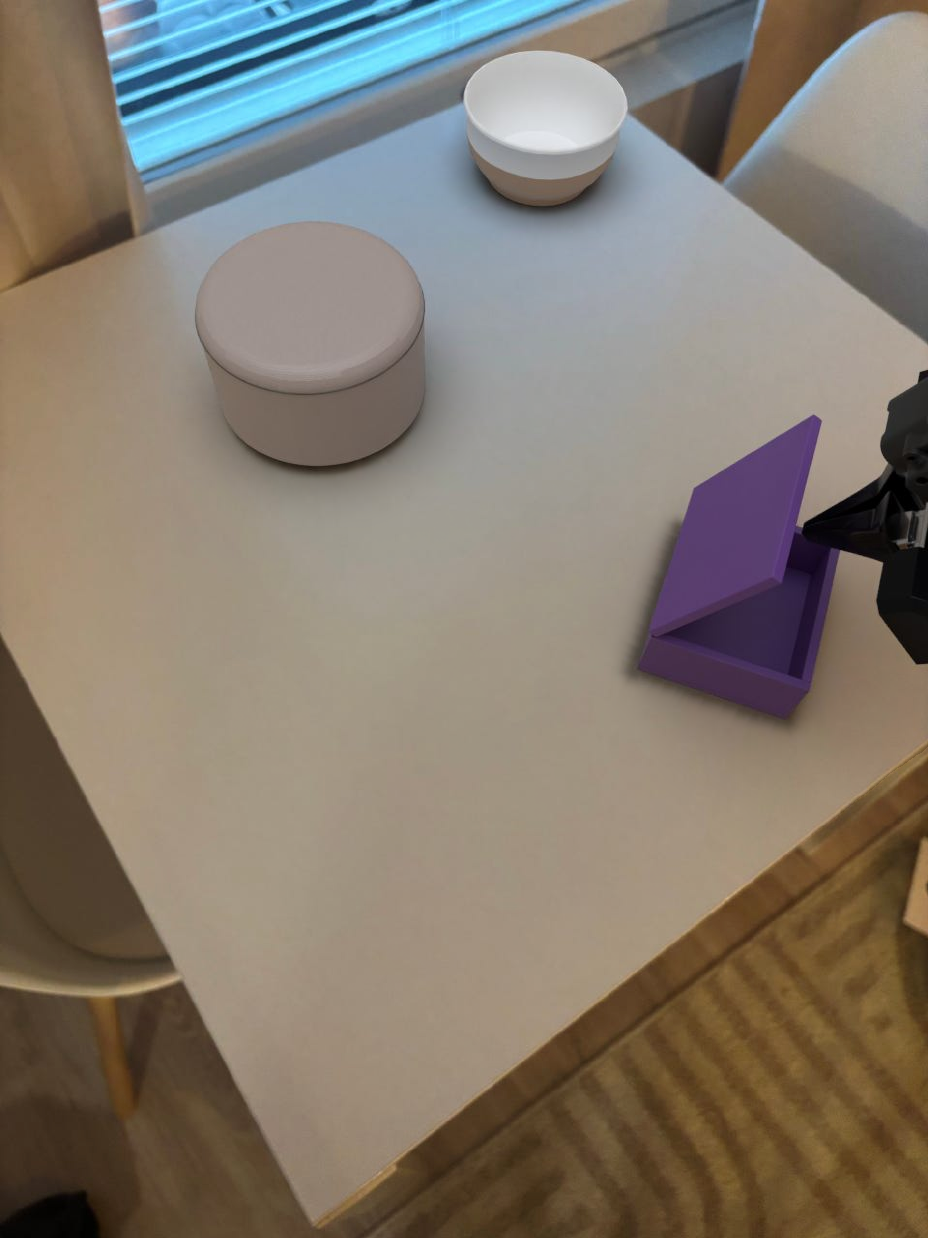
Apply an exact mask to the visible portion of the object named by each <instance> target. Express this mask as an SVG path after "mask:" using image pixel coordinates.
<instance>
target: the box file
mask: <svg viewBox="0 0 928 1238" xmlns="http://www.w3.org/2000/svg"><path fill="white" fill-rule="evenodd" d="M802 529H803V526H799V525H796V528H795V532H794V536H793V540H792V544H791V548H790V552H789V556H788V560H787V564H786V568H785V572H784V576H783V580H782V583H781V584H779V585H777V586H774V587H772V588H770V589H767V590H765V591H763V592H760V593H758V594H756V595H753V596H751V597H749V598H746V599H744V600H742V601H739V602H737V603H735V604H732V605H730V606H728V607H725V608H723V609H721V610H718V611H716V612H714V613H711V614H709V615H707V616H704V617H702V618H700V619H697V620H695V621H693V622H690V623H688V624H686V625H683V626H681V627H679V628H676V629H674V630H672V631H669V632H667V633H665V634H662V635H660V636H658V637H655V636H654V635H652V634H651V633H649V632H648V631H647V632H648V633H647V636H646V639H645V642H644V645H643V648H642V652H641V655H640V658H639V661H638V664H637V667H636V669H637V670H639V671H643V672H645V673H649V674H651V675H654V676H657V677H660V678H663V679H665V680H668V681H672V682H674V683H677V684H680V685H683V686H687V687H689V688H692V689H695V690H697V691H701V692H704V693H706V694H709V695H712V696H716V697H718V698H721V699H724V700H728V701H730V702H733V703H736V704H738V705H742V706H744V707H748V708H750V709H754V710H757V711H760V712H762V713H765V714H769V715H771V716H774V717H777V718H780V719H783V720H786V719H787V718H788V716H789V715H790V714H791V713H792V712H793V711H794V710H795V709H796V707H797V706H798V705H799V704H800V703H801V701H802V700H804V698H805V697H806V696H807V694H808V693H809V692H811V691H810V690H811V686H812V681H813V677H814V672H815V668H816V665H817V664H816V663H817V659H818V654H819V650H820V645H821V640H822V635H823V633H824V628H825V622H826V618H827V612H828V608H829V604H830V599H831V595H832V591H833V585H834V581H835V576H836V573H837V567H838V563H839V558H840V553H841V550H838V549H834V548H830V547H826V546H823V545H819V544H815V543H811V542H809V541H807V540H806V539H805V537H804V536H803V535H802Z"/></svg>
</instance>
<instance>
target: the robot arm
mask: <svg viewBox="0 0 928 1238" xmlns="http://www.w3.org/2000/svg"><path fill="white" fill-rule="evenodd" d="M917 378H918V379H917V383H915V384H914V385H912V386H911V387H909V388H908V389H905V390H904V391H903V392H901V393H900V394H898V395H896V396H893V398H891V399H890V400H889V401H888V404H887V408H886V411H887V412H888V415H887V420H886V424H885V429H884V432H883V434H882V435H881V436H880V442H879V448H880V449H879V450H880V452H881V456H882V457H883V459H884V460H885V462H887V464H886V466H885V468H884V470H883V471H882V473H881V474H880V475H879V476H878V477H876V478H875V479H874V480H873V481H871V482H870V483H868V484H867V485H865V486H863V487H862V488H861V489H859V490H857V491H856V492H854V493H852V494H851V495H849V496H847V497H846V498H844V499H842V500H841V501H839V502H837V503H835V504H834V505H832V506H830V507H828V508H827V509H825V510H823V511H821V512H820V513H818V514H817V515H815V516H813V517H811V518H809V519H807V520H806V521H805V522H804V523H803V525H802V527H803V529H802V535H803V536H804V537H805V539H806V540H807V541H809V542H811V543H815V544H819V545H823V546H826V547H830V548H834V549H838V550H840V552H846V553H849V554H853V555H857V556H860V557H864V558H868V559H871V560H874V561H877V562H880V563H881V564H882V567H881V572H880V578H879V582H878V588H877V593H876V598H875V603H876V607H877V608H876V609H877V612H878V616H879V617H880V618H881V621H883V623H884V624H885V626H886V627H887V628H888V629H889V630H890V632H891V634H892V635H893V636H894V637H895V638H896V640H897V642H898V643H899V644H900V645H901V646H902V648H903V649H904V650H905V652H906V653H907V655H908V656H909V658H910V659H911V660H912V661H913V663H914V664H915V665H916V666H919V665H920V666H921V665H928V369H924V370H922V371H921V370H920V371H919V373H918V377H917Z"/></svg>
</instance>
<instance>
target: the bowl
mask: <svg viewBox="0 0 928 1238" xmlns="http://www.w3.org/2000/svg"><path fill="white" fill-rule="evenodd" d="M463 91H464V92H463V98H462V99H463V108H464V110H465V113H466V127H465V132H466V137H467V144H468V147H469V151H470V154H471V156H472V158H473V160H474V162H475V163H476V166H477V167H478V168H479V171H480V172H481V173H482V174H483V175H484V176H485V177H486V178H487V179H488V181H489V183H490V185H491V186H492V188H493V189H495V191H496V192H497V193H499V194H500V195H502V196H503V197H504V198H506V199H508V200H510V201H512V202H515V203H519V204H522V205H526V206H532V207H551V206H557V205H561V204H562V205H563V204H565V203H567V202H570V201H572V200H574V199H575V198H577V197H579V195H581V194H582V192H584V191H585V190H586V188H587V187H589V186H590V185H592V184H594V182H595V181H597V180H598V178H600V176H601V175H602V174H603V173H604V171H605V170H606V169H607V168H608V167H609V165H610V163H611V161H612V160H613V157H614V154H615V151H616V149H617V147H618V143H619V139H620V131H621V128H622V127H623V125H624V124H625V122H626V120H627V115H628V112H629V111H628V110H629V107H628V105H629V104H628V98H627V96H626V93H625V90H624V89H623V86H622V85H621V84H620V82H619V81H618V80H617V78H616V77H615V76H613V75H612V74H611V73H610V72H609V71H607V70H606V69H605V68H603V67H602V66H600V65H598V64H597V63H595V62H593V61H591V60H589V59H585V58H583V57H581V56H577V55H574V54H571V53H565V52H559V51H554V50H527V51H519V52H513V53H509V54H506V55H502V56H500V57H497V58H494V59H493V60H491V61H489V62H487V63H485V64H484V65H482V66H481V67H480V68H478V70H476V71H475V72H474V73H473V74H472V76H471V77H470V78H469V80H468V81H467V83H466V86H465V88H464V90H463Z"/></svg>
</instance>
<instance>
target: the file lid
mask: <svg viewBox="0 0 928 1238" xmlns="http://www.w3.org/2000/svg"><path fill="white" fill-rule="evenodd" d="M822 423H823V420H822V419H821V418H820V417H819V416H817V415H816V414H812V415H810V416H809V417H807V418H805V419H804V420H801V422H798V423H797V424H795V425H794V426H792V427H790V428H788V429H787V430H785V431H784V432H782V433H781V434H779V435H777V436H776V437H774V438H773V439H770V441H767V442H766V443H764V444H763V445H762V446H759V447H758V448H756V449H755V450H753V451H751V452H750V453H748V454H747V455H745V456H744V457H742V458H740V459H738V460H737V461H735V462H734V463H732V464H730V465H728V466H727V467H725V468H724V469H722V470H720V471H719V472H718V473H716V474H714V475H712V476H711V477H709V478H708V479H706V480H705V481H703V482H701V483H699V484H698V485H696V486H695V487H693V490H692V493H691V496H690V500H689V503H688V505H687V509H686V511H685V515H684V518H683V520H682V523H681V528H680V531H679V533H678V537H677V540H676V543H675V546H674V549H673V553H672V556H671V559H670V562H669V565H668V568H667V571H666V574H665V577H664V581H663V584H662V587H661V590H660V593H659V597H658V599H657V603H656V607H655V609H654V612H653V615H652V618H651V622H650V625H649V628H648V630H647V632H649V633H651V634H652V635H654V636H655V637H658V636H660V635H662V634H665V633H667V632H669V631H672V630H674V629H676V628H679V627H681V626H683V625H686V624H688V623H690V622H693V621H695V620H697V619H700V618H702V617H704V616H707V615H709V614H711V613H714V612H716V611H718V610H721V609H723V608H725V607H728V606H730V605H732V604H735V603H737V602H739V601H742V600H744V599H746V598H749V597H751V596H753V595H756V594H758V593H760V592H763V591H765V590H767V589H770V588H772V587H774V586H777V585H779V584H781V583H782V580H783V576H784V572H785V568H786V564H787V560H788V556H789V552H790V548H791V544H792V540H793V536H794V532H795V528H796V526H797V523H798V519H799V515H800V511H801V508H802V503H803V500H804V495H805V493H806V492H805V491H806V487H807V483H808V479H809V475H810V471H811V467H812V464H813V458H814V455H815V452H816V448H817V447H816V446H817V443H818V440H819V435H820V430H821V428H822V427H821V426H822Z"/></svg>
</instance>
